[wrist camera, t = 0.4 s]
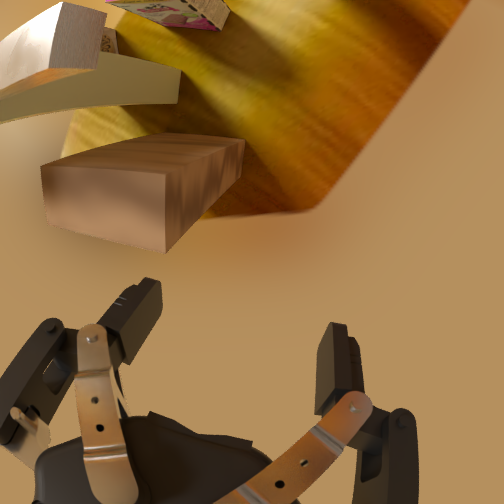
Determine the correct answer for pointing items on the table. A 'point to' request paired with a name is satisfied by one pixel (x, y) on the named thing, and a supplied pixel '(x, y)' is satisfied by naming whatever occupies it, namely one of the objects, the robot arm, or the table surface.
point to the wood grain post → (141, 187)
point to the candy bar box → (179, 12)
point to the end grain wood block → (50, 48)
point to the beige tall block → (98, 88)
